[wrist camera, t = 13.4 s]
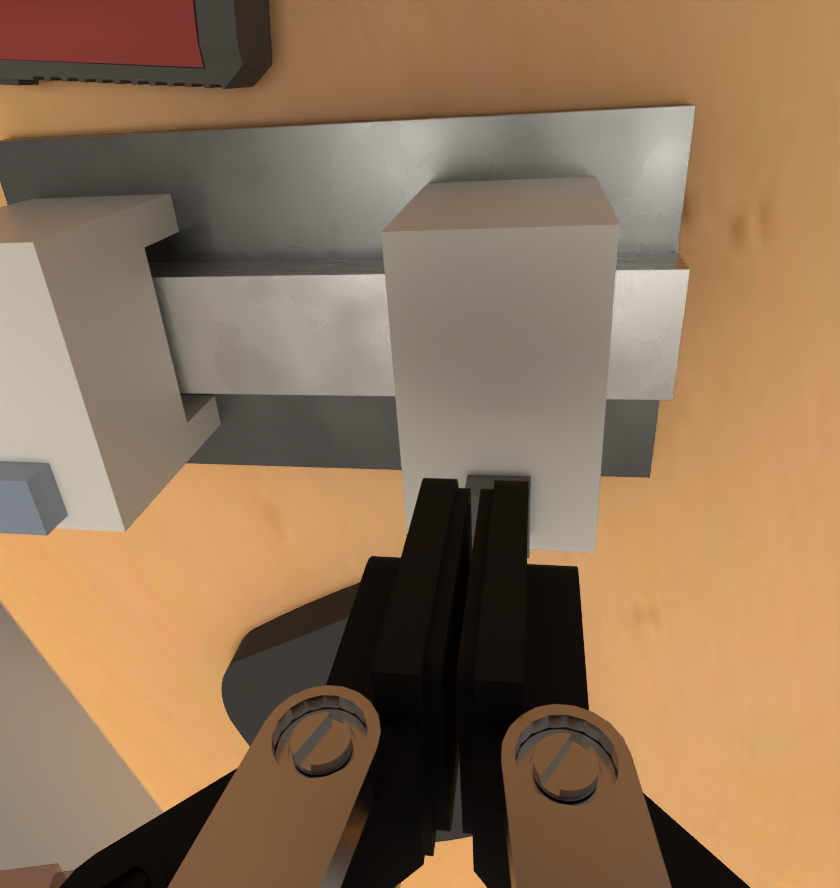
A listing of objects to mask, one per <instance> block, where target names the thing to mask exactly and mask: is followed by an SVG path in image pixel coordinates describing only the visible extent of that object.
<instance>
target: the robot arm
mask: <svg viewBox="0 0 840 888" xmlns="http://www.w3.org/2000/svg"><path fill="white" fill-rule="evenodd" d="M528 497H529V481H509V480H495V481H494V488H493V489H481V490H480V497H479V504H478V512H477V519H476V527H475V534H474V542H473V549H472V512H471V489H470V488H459V485H458V480H457V479H446V478H423V480H422V482H421V486H420V490H419V493H418V497H417V501H416V504H415V508H414V512H413V515H412V519H411V523H410V526H409V530H408V534H407V538H406V541H405V545H404V549H403V552H402V556H401V558H397V557H377V556H372V557H370V558H369V560H368V562H367V564H366V567H365V570H364V573H363V576H362V579H361V582H360V585H359V588H358V591H357V594H356V597H355V600H354V603H353V606H352V609H351V612H350V615H349V618H348V621H347V624H346V627H345V630H344V633H343V636H342V639H341V642H340V645H339V648H338V651H337V653H336V656H335V659H334V662H333V665H332V668H331V671H330V674H329V677H328V680H327V683H326V685H325V686H319V687H313V688H308V689H306V690H303V691H301V692H299V693H297V694H294V695H292V696H290V697H289V698H288V699H286V700H285V701H284V702H282V703H281V704H280V705H278V706H277V707H276V708H275V709H274V711H273V712H272V713H271V714H270V716H269V717H268V718H267V719H266V721H265V722H264V724H263V726H262V727H261V729H260V731H259V733H258V734H257V736H256V738H255V739H254V741H253V743H252V744H251V746H250V748H249V750H248V751H247V753H246V755H245V756H244V758H243V760H242V761H241V763H240V765H239V767H238V768H237V769H235V770H233V771H232V772H230V773H228V774H227V775H225V776H223V777H222V778H220V779H218V780H217V781H215V782H214V783H212V784H210V785H209V786H207V787H205V788H204V789H202V790H200V791H199V792H197V793H195V794H194V795H192V796H190V797H189V798H187V799H185V800H184V801H182V802H180V803H179V804H177V805H176V806H174V807H172V808H171V809H169V810H167V811H166V812H164V813H162V814H161V815H159V816H157V817H156V818H154V819H152V820H151V821H149V822H147V823H146V824H144V825H142V826H141V827H139V828H138V829H136V830H134V831H133V832H131V833H129V834H128V835H126V836H125V837H123V838H121V839H120V840H118V841H116V842H114V843H113V844H111V845H109V846H108V847H106V848H105V849H103V850H101V851H100V852H98V853H96V854H95V855H94V856H92V857H91V858H90V859H88V860H87V861H86V862H84V863H83V864H82V865H80V866H79V867H78V868H76V869H75V870H71V871H64V872H62V870H61V868H60V866H59V864H58V863H56V864H49V865H40V866H33V867H25V868H17V869H9V870H1V871H0V888H400V883H401V882H402V881H403V880H405V879H406V878H407V877H408V876H410V875H411V874H412V873H413V872H415V871H416V870H417V869H418V868H420V867H421V866H422V865H423V864H424V857H425V855H427V856H433V855H434V847H435V840H436V832H437V830H438V831H447V832H450V831H451V827H452V820H453V811H454V803H455V794H456V785H457V776H458V767H459V764H460V786H461V807H462V829H463V833H464V834H473V862H474V872H475V873H476V874H477V875H478V877H479V878H480V879H481V880H482V882H483V883H484V884H485V885H486V887H487V888H750V887H749V886H748V885H747V884H746V883H745V882H744V881H742V880H741V879H740V878H739V877H738V876H737V875H736V874H734V873H733V872H732V871H731V870H730V869H729V868H728V867H727V866H725V865H724V864H723V863H722V862H721V861H720V860H719V859H717V858H716V857H715V856H714V855H713V854H712V853H711V852H710V851H708V850H707V849H706V848H705V847H704V846H703V845H702V844H701V843H699V842H698V841H697V840H696V839H695V838H694V837H693V836H691V835H690V834H689V833H688V832H687V831H686V830H685V829H684V828H682V827H681V826H680V825H679V824H678V823H677V822H676V821H675V820H673V819H672V818H671V817H670V816H669V815H668V814H667V813H665V812H664V811H663V810H662V809H661V808H660V807H659V806H658V805H656V804H655V803H654V802H653V801H652V800H651V799H650V798H648V797H647V796H646V795H645V794H644V793H643V791H642V788H641V785H640V781H639V778H638V775H637V771H636V768H635V765H634V761H633V758H632V755H631V753H630V751H629V749H628V747H627V744H626V742H625V740H624V738H623V737H622V736H621V735H620V734H619V732H618V731H617V730H616V729H615V728H614V727H613V726H612V725H611V724H610V723H609V722H608V721H606V720H604V719H603V718H601V717H600V716H598V715H597V714H595V713H594V712H591V711H589V705H588V692H587V679H586V665H585V652H584V639H583V626H582V612H581V599H580V586H579V574H578V568H577V567H574V566H555V565H535V564H527V539H528Z"/></svg>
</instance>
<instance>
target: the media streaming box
mask: <svg viewBox="0 0 840 888" xmlns="http://www.w3.org/2000/svg"><path fill="white" fill-rule="evenodd" d="M359 585H360V583H359V584H356V585H353V586H351V587H348V588H346V589H343V590H340V591H338V592H335V593H333V594H330V595H328V596H326V597H323V598H321V599H318V600H316V601H314V602H311V603H309V604H307V605H304V606H302V607H300V608H298V609H295V610H293V611H291V612H289V613H286V614H284V615H282V616H280V617H278V618H276V619H274V620H272V621H270V622H268V623H265V624H263V625H261V626H259V627H257V628H255V629H253V630H252V631H251V632H249V633H248V634H247V635H246V636H245V637H244V639H243V640H242V642H241V643H240V645H239V647H238V649H237V651H236V653H235V655H234V657H233V659H232V661H231V663H230V665H229V667H228V669H227V670H226V672H225V674H224V677H223V681H222V698H223V703H224V706H225V709H226V711H227V714H228V716H229V718H230V720H231V721H232V723H233V724H234V725H235V727H236V728H237V730H238V731H239V733H240V734H241V735H242V737H243V738H244V739H245V741H246V742H247V743H248V745H249V746H251V744H252V743H253V741H254V739H255V738H256V736H257V734H258V733H259V731H260V729H261V727H262V726H263V724H264V722H265V721H266V719H267V718H268V717H269V716H270V714H271V713H272V712H273V711H274V709H275V708H276V707H277V706H278V705H280V704H281V703H282V702H284V701H285V700H286V699H288V698H289V697H290V696H292V695H294V694H297V693H299V692H301V691H303V690H306V689H308V688H313V687H319V686H325V685H326V683H327V680H328V677H329V674H330V671H331V668H332V665H333V662H334V659H335V656H336V653H337V651H338V648H339V645H340V642H341V639H342V636H343V633H344V630H345V627H346V624H347V621H348V618H349V615H350V612H351V609H352V606H353V603H354V600H355V597H356V594H357V591H358V588H359ZM470 836H473V834H464V833H463V829H462V807H461V786H460V764H459V767H458V776H457V785H456V794H455V803H454V811H453V820H452V827H451V831H450V832H447V831H438V830H437V832H436V840H435V842H439V841H448V840H454V839H460V838H465V837H470Z"/></svg>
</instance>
